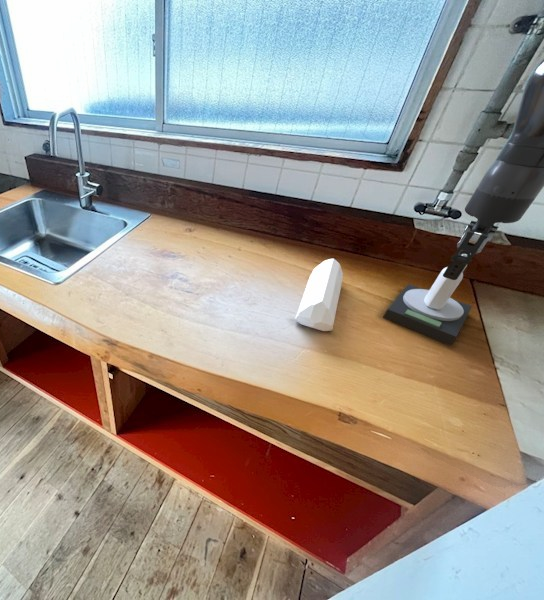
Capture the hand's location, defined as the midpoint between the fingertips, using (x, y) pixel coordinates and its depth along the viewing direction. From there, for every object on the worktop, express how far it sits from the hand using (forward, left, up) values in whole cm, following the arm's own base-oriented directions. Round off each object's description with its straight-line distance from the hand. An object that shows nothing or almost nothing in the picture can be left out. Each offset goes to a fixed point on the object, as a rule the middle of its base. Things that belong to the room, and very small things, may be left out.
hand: (454, 269), depth 65 cm
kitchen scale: (0, +1, -12) cm, 12 cm away
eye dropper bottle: (0, 0, -9) cm, 9 cm away
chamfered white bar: (+18, +13, -12) cm, 25 cm away
